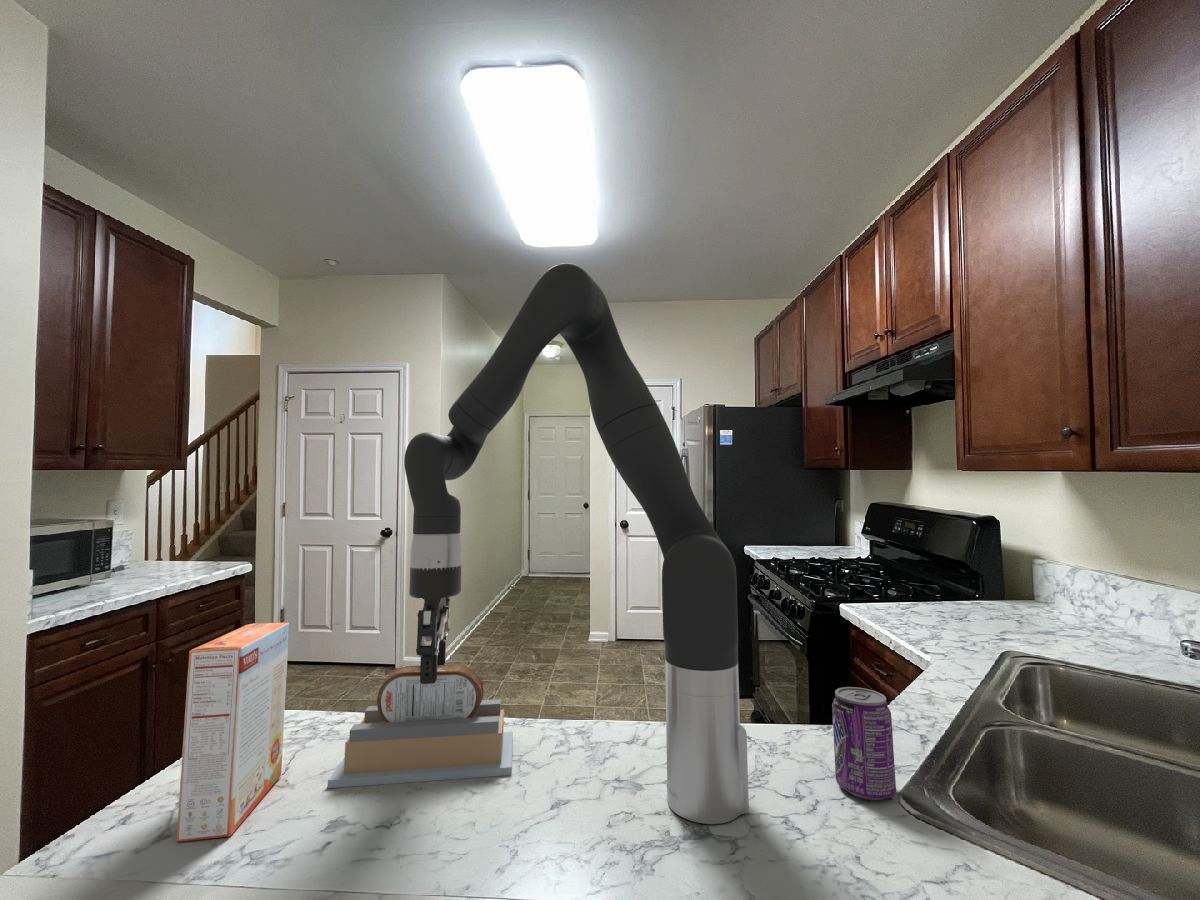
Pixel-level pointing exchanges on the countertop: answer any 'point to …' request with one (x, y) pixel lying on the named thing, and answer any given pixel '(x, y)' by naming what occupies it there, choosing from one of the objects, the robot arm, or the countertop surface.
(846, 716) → the beverage can
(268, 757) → the cracker box
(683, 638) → the robot arm
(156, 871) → the countertop surface
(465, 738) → the grey tan slotted stand
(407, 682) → the tin
